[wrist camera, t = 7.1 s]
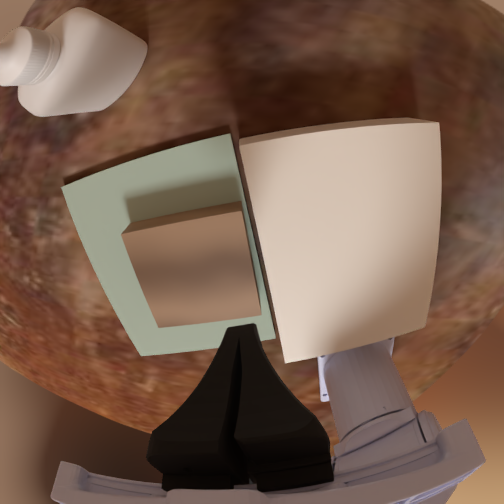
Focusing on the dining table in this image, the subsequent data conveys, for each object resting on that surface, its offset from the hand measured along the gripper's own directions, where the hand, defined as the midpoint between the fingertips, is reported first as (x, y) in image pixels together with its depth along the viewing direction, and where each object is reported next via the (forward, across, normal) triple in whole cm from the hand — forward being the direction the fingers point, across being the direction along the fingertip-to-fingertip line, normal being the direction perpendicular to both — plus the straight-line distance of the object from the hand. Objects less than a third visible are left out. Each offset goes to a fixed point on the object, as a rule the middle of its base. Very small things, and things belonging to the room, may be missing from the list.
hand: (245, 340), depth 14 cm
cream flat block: (+9, -8, 0) cm, 12 cm away
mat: (+9, +6, 0) cm, 10 cm away
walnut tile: (+8, +3, 0) cm, 9 cm away
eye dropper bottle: (+9, +6, -15) cm, 18 cm away
